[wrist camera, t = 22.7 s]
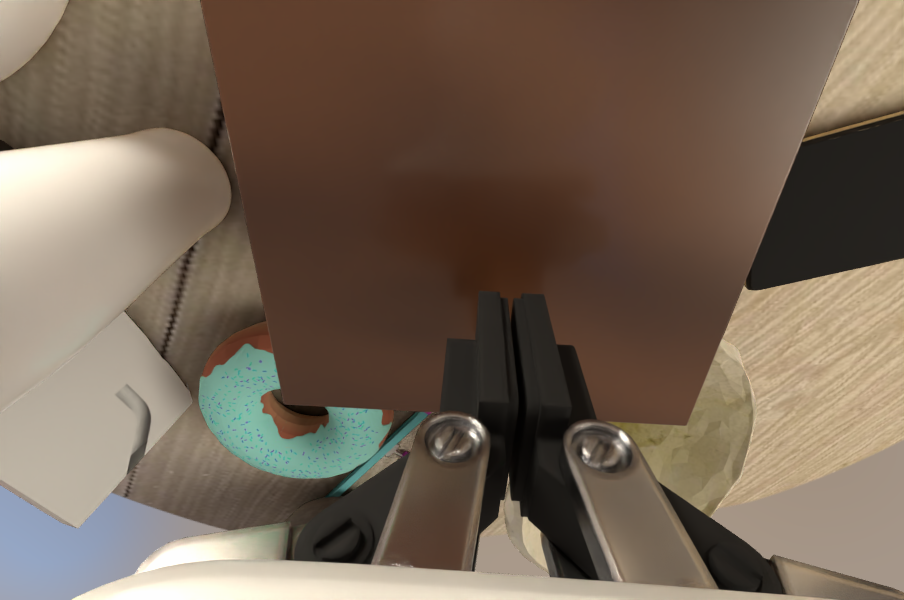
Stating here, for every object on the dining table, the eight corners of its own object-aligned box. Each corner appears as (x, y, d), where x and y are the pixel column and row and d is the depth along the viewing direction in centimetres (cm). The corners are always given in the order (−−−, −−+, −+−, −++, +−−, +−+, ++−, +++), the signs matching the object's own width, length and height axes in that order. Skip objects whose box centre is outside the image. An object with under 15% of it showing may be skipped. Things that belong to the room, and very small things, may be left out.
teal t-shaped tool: (368, 534, 37) (317, 509, 35) (370, 525, 37) (320, 500, 36) (489, 437, 30) (432, 402, 29) (488, 428, 31) (433, 393, 30)
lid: (677, 409, 15) (687, 427, 14) (291, 389, 15) (282, 405, 15) (835, -4, 9) (865, -9, 9) (212, -25, 10) (192, -32, 9)
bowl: (744, 413, 29) (857, 567, 21) (551, 476, 33) (578, 627, 25) (679, 231, 23) (804, 344, 14) (452, 336, 27) (442, 473, 18)
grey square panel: (136, 270, 27) (98, 272, 28) (-134, 369, 17) (-170, 363, 19) (207, 426, 31) (171, 420, 33) (23, 572, 22) (-16, 554, 23)
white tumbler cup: (87, 133, 22) (-484, 268, 9) (202, 90, 20) (-262, 171, 7) (169, 253, 25) (-158, 480, 12) (273, 221, 24) (34, 437, 11)
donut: (181, 356, 28) (141, 399, 25) (319, 273, 25) (294, 310, 21) (303, 462, 33) (284, 511, 30) (432, 406, 30) (427, 453, 26)
